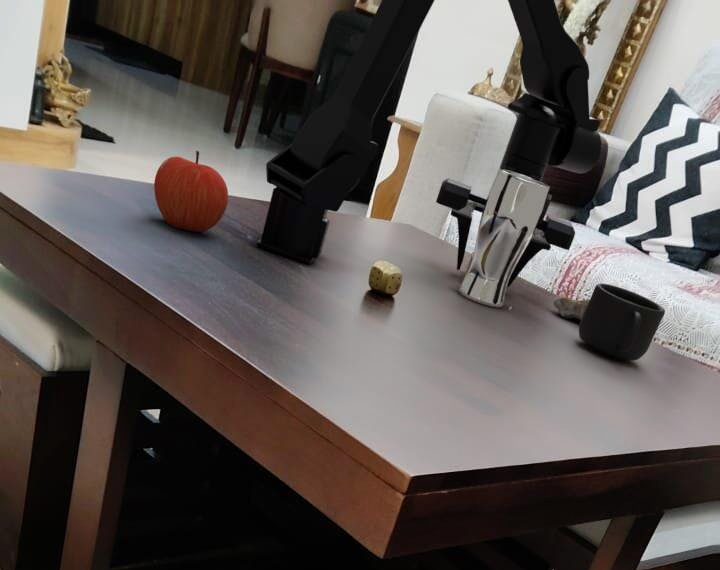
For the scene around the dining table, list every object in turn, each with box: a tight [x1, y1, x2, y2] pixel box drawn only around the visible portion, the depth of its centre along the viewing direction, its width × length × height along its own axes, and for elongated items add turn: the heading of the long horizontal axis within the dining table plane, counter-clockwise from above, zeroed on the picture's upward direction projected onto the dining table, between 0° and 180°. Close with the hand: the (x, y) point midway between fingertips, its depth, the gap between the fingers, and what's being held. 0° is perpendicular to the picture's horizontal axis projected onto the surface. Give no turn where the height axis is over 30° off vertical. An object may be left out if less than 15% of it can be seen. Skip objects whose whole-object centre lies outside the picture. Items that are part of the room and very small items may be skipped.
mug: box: [578, 283, 666, 362], centre depth 121 cm, size 12×9×7 cm
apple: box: [153, 150, 229, 233], centre depth 108 cm, size 8×8×8 cm
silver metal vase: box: [458, 167, 551, 308], centre depth 124 cm, size 7×7×15 cm
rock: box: [553, 296, 590, 321], centre depth 135 cm, size 9×6×10 cm
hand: (482, 278), depth 136 cm, fingers open, 7 cm apart
